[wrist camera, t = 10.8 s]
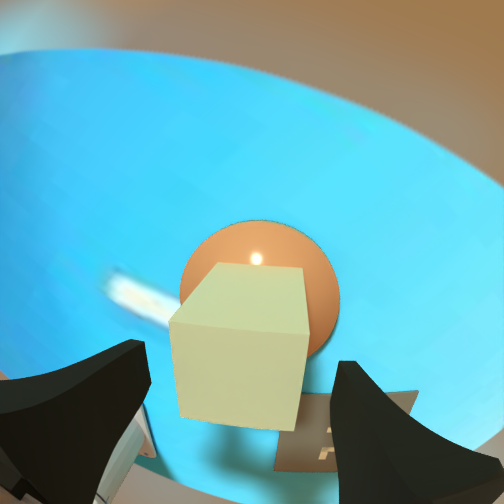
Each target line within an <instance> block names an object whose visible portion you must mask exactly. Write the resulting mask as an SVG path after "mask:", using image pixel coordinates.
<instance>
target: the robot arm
mask: <svg viewBox="0 0 504 504" xmlns="http://www.w3.org/2000/svg"><path fill="white" fill-rule="evenodd" d="M150 385H151V378H150V373H149V367H148V361H147V355H146V349H145V342H144V341H139V340H133V339H129V340H127V341H124V342H122V343H119V344H117V345H115V346H113V347H111V348H109V349H107V350H104V351H102V352H100V353H98V354H96V355H94V356H92V357H89V358H87V359H85V360H82V361H80V362H77V363H75V364H72V365H70V366H67V367H65V368H62V369H59V370H56V371H52V372H49V373H45V374H41V375H37V376H32V377H26V378H21V379H13V380H0V504H111V503H112V501H113V499H114V497H115V495H116V494H117V492H118V490H119V488H120V486H121V484H122V483H123V481H124V479H125V477H126V475H127V473H128V472H129V470H130V468H131V466H132V464H133V462H134V461H135V459H136V457H137V455H138V454H140V455H143V456H146V457H150V458H155V457H156V455H157V454H156V451H155V448H154V445H153V441H152V438H151V435H150V431H149V428H148V424H147V421H146V417H145V413H144V409H143V405H142V403H143V401H144V399H145V397H146V395H147V392H148V390H149V387H150ZM330 426H331V433H332V439H333V445H334V451H335V457H336V463H337V470H338V478H339V504H492V503H493V502H494V501H495V500H496V499H497V498H498V497H499V496H500V495H501V494H502V493H503V492H504V468H503V466H502V464H501V462H500V461H499V459H498V458H495V457H491V456H488V455H484V454H481V453H478V452H475V451H472V450H469V449H467V448H464V447H462V446H460V445H457V444H455V443H453V442H451V441H449V440H447V439H445V438H443V437H441V436H440V435H438V434H436V433H435V432H433V431H431V430H430V429H428V428H426V427H425V426H423V425H422V424H421V423H419V422H418V421H416V420H415V419H414V418H412V417H411V416H410V415H408V414H407V413H406V412H405V411H404V410H402V409H401V408H400V407H399V406H398V405H397V404H396V403H395V402H393V401H392V400H391V399H390V398H389V397H388V396H387V395H386V394H385V393H384V392H383V391H382V390H381V389H380V388H379V387H378V386H377V384H376V383H375V382H374V381H373V380H372V379H371V378H370V377H369V376H368V375H367V373H366V372H365V371H364V370H363V369H362V368H361V367H360V365H359V364H358V363H357V362H356V361H339V363H338V368H337V372H336V377H335V381H334V386H333V390H332V394H331V399H330Z"/></svg>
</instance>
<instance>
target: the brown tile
mask: <svg viewBox="0 0 504 504" xmlns="http://www.w3.org/2000/svg"><path fill="white" fill-rule="evenodd" d="M418 393H419V391H418V390H415V391H403V392H388V393H385V394H386V395H387V396H388V397H389V398H390V399H391V400H392V401H393V402H395V403H396V404H397V405H398V406H399V407H400V408H401V409H402V410H404V411H405V412H406V413H407V414H408V415H409V414H410V411H411V409H412V407H413V405H414V402H415V400H416V398H417V395H418ZM330 399H331V394H317V393H301V395H300V401H299V407H298V412H297V418H296V423H295V428H294V431H281V430H280V432H279V439H278V446H277V453H276V459H275V466H274V471H285V472H338V470H337V463H336V457H335V451H334V445H333V439H332V433H331V426H330Z"/></svg>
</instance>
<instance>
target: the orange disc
mask: <svg viewBox="0 0 504 504" xmlns="http://www.w3.org/2000/svg"><path fill="white" fill-rule="evenodd" d="M217 262H221V263H235V264H250V265H265V266H280V267H295V268H303V276H304V284H305V293H306V302H307V312H308V322H309V332H310V337H309V344H308V351H307V357H309V356H310V355H312V354H313V353H314V352H316V351H317V350H318V349H319V348H320V347H321V346H322V345H323V344H324V342H325V341H326V340H327V338H328V337H329V335H330V334H331V332H332V330H333V328H334V326H335V323H336V320H337V317H338V313H339V306H340V292H339V286H338V281H337V278H336V275H335V272H334V270H333V268H332V265H331V263H330V261H329V260H328V258H327V256H326V255H325V253H324V252H323V251H322V249H321V248H320V247H319V246H318V245H317V244H316V243H315V242H314V241H313V240H312V239H311V238H310V237H308V236H307V235H306V234H304V233H303V232H301V231H299V230H297V229H296V228H293V227H291V226H288V225H286V224H283V223H279V222H275V221H268V220H249V221H242V222H238V223H235V224H232V225H229V226H227V227H225V228H223V229H221V230H219V231H218V232H216V233H214V234H213V235H211V236H210V237H209V238H208V239H206V240H205V241H204V242H203V243H202V244H201V245H200V246H199V247H198V248H197V249H196V250H195V251H194V253H193V254H192V256H191V257H190V259H189V260H188V262H187V264H186V266H185V269H184V272H183V275H182V278H181V285H180V302H181V305H182V304H183V303H184V302H185V300H186V299H187V298H188V297H189V296H190V294H191V293H192V292H193V291H194V290H195V288H196V287H197V286H198V285H199V284H200V282H201V281H202V280H203V279H204V278H205V277H206V275H207V274H208V273H209V272H210V271H211V269H212V268H213V267H214V266H215V265H216V264H217Z"/></svg>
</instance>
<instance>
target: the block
mask: <svg viewBox="0 0 504 504" xmlns="http://www.w3.org/2000/svg"><path fill="white" fill-rule="evenodd" d="M169 331H170V341H171V351H172V360H173V368H174V376H175V383H176V390H177V397H178V404H179V410H180V417H183V418H188V419H194V420H199V421H205V422H211V423H217V424H224V425H231V426H239V427H247V428H257V429H267V430H281V431H294V428H295V423H296V418H297V412H298V407H299V401H300V395H301V390H302V383H303V377H304V371H305V364H306V358H307V351H308V344H309V337H310V332H309V322H308V312H307V302H306V293H305V284H304V276H303V268H295V267H280V266H265V265H250V264H235V263H221V262H217V264H216V265H215V266H214V267H213V268H212V269H211V271H210V272H209V273H208V274H207V275H206V277H205V278H204V279H203V280H202V281H201V282H200V284H199V285H198V286H197V287H196V288H195V290H194V291H193V292H192V293H191V294H190V296H189V297H188V298H187V299H186V300H185V302H184V303H183V304H182V305H181V306H180V308H179V309H178V310H177V311H176V312H175V314H174V315H173V316H172V317H171V319H170V320H169Z"/></svg>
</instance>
